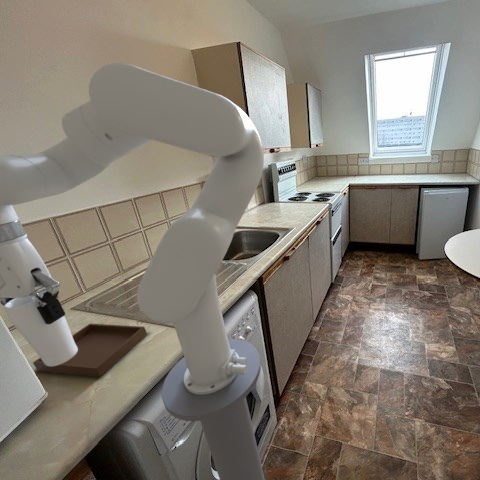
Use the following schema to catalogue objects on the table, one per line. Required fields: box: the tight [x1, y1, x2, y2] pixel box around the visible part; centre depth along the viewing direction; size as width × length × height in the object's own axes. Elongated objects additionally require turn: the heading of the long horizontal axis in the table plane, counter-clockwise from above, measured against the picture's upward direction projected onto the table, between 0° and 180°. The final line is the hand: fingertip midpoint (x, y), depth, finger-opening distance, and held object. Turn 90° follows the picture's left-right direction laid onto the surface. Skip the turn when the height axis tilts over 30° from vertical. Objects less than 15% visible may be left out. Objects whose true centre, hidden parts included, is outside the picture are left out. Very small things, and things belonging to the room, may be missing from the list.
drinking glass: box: [3, 291, 78, 367], centre depth 53 cm, size 7×7×15 cm
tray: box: [32, 323, 148, 378], centre depth 73 cm, size 19×15×3 cm
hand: (40, 318), depth 52 cm, fingers closed on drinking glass, 6 cm apart
